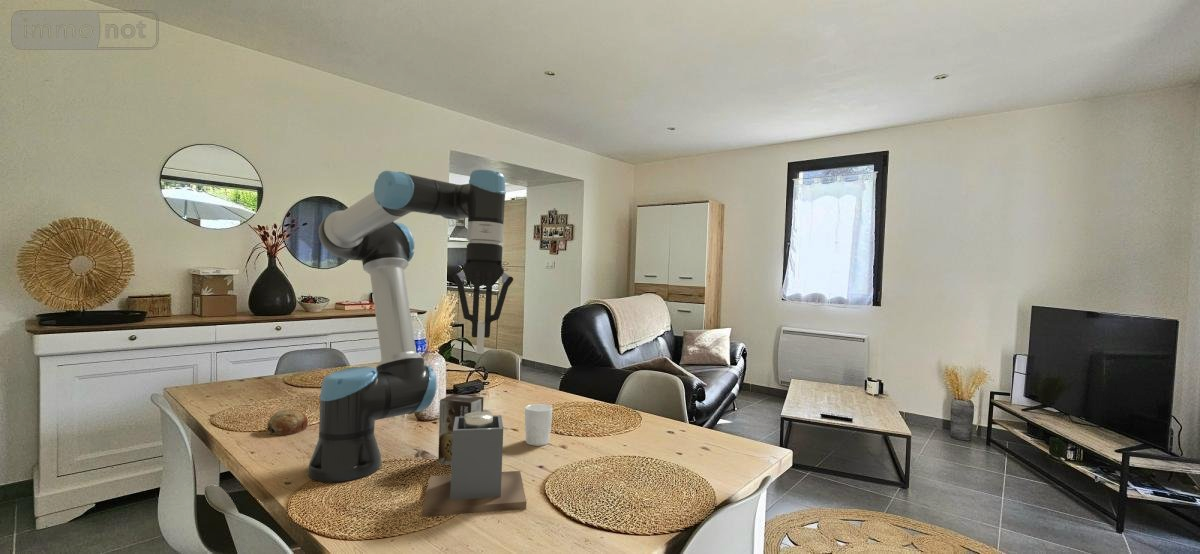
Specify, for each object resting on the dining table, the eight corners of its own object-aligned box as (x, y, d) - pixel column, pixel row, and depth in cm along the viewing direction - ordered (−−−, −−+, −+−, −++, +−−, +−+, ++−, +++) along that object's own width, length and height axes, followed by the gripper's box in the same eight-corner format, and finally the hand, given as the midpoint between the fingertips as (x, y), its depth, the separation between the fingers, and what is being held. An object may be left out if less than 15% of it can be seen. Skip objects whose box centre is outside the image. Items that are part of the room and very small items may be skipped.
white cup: (549, 447, 133) (550, 411, 133) (521, 446, 133) (522, 410, 133) (552, 438, 141) (554, 404, 141) (526, 437, 141) (527, 403, 141)
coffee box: (482, 459, 122) (485, 396, 122) (469, 468, 116) (471, 402, 116) (451, 455, 124) (453, 393, 125) (436, 463, 118) (439, 398, 118)
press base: (421, 517, 91) (421, 509, 91) (429, 482, 107) (430, 476, 107) (526, 509, 96) (526, 501, 96) (519, 477, 112) (520, 470, 112)
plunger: (456, 495, 97) (459, 421, 97) (458, 480, 104) (460, 411, 105) (494, 493, 99) (497, 419, 99) (493, 478, 106) (496, 410, 106)
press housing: (450, 500, 95) (452, 430, 96) (452, 480, 105) (455, 416, 105) (500, 496, 98) (503, 428, 98) (498, 477, 108) (501, 415, 108)
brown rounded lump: (263, 443, 138) (253, 422, 135) (293, 420, 147) (284, 399, 143) (290, 448, 135) (279, 426, 132) (318, 423, 144) (309, 402, 141)
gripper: (452, 240, 97) (447, 355, 97) (516, 244, 100) (511, 355, 100) (454, 242, 105) (449, 349, 104) (514, 246, 108) (509, 350, 108)
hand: (479, 352), depth 102 cm, fingers closed
